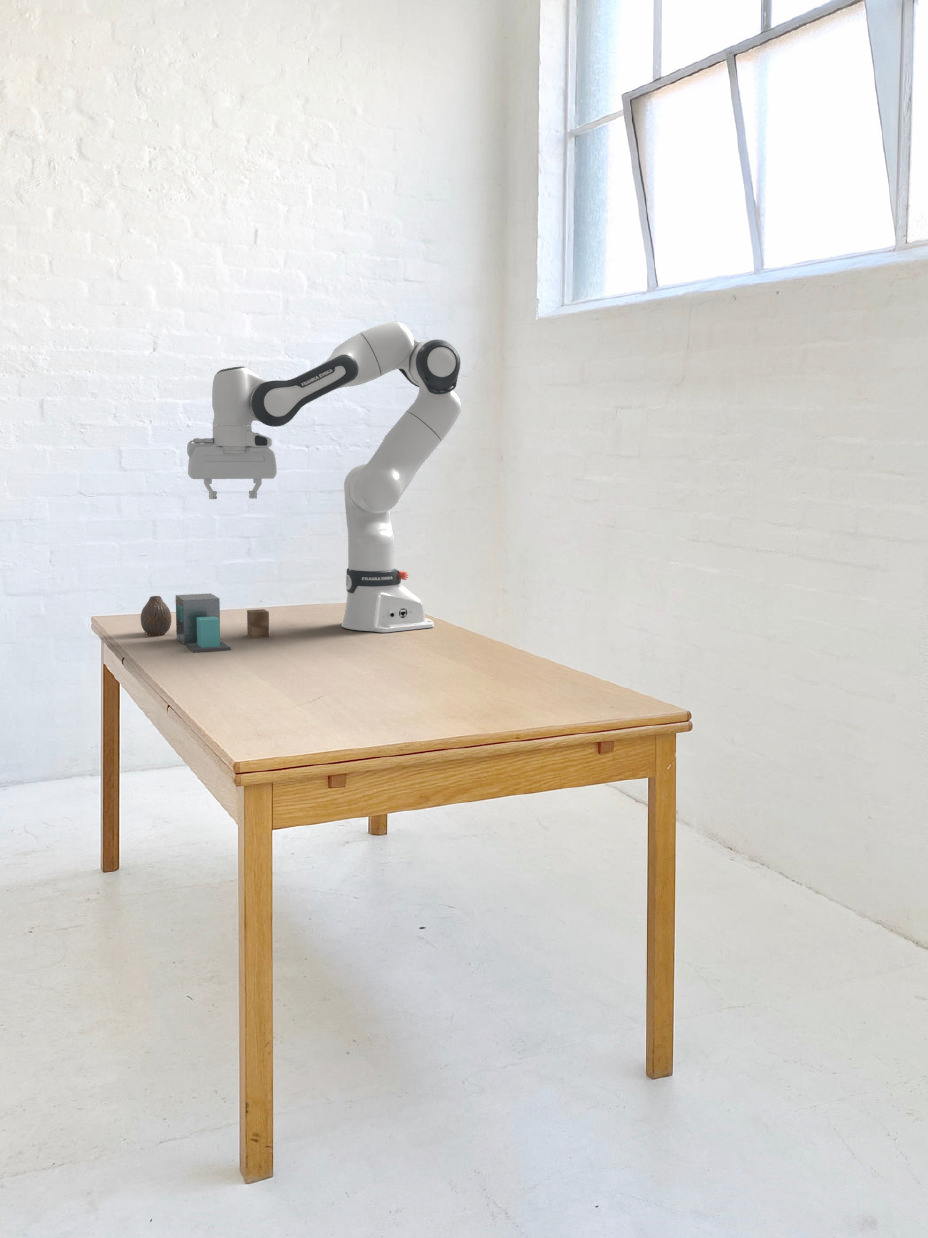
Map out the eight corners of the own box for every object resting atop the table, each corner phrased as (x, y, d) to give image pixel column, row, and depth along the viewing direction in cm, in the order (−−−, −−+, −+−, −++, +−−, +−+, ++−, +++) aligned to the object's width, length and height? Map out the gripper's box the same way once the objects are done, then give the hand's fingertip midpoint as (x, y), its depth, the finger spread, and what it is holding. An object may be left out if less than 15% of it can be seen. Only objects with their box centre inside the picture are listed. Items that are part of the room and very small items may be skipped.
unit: (212, 636, 275) (211, 593, 273) (221, 642, 267) (220, 598, 266) (175, 638, 271) (174, 595, 269) (183, 645, 264) (182, 600, 262)
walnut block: (264, 634, 278) (263, 609, 277) (269, 637, 275) (268, 611, 274) (247, 635, 277) (247, 610, 276) (252, 638, 273) (251, 612, 272)
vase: (167, 637, 273) (166, 599, 272) (137, 636, 273) (136, 598, 272) (175, 631, 280) (174, 594, 278) (145, 631, 280) (144, 594, 278)
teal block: (215, 643, 263) (214, 616, 262) (219, 646, 260) (219, 619, 259) (197, 644, 262) (196, 617, 261) (201, 647, 258) (201, 620, 257)
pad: (222, 644, 266) (222, 641, 266) (230, 649, 259) (230, 647, 259) (186, 646, 262) (186, 643, 262) (193, 652, 256) (193, 649, 256)
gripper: (190, 438, 268) (191, 500, 270) (278, 439, 276) (279, 499, 279) (183, 437, 273) (185, 498, 276) (270, 438, 282) (271, 497, 284)
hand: (233, 498), depth 277 cm, fingers open, 8 cm apart
